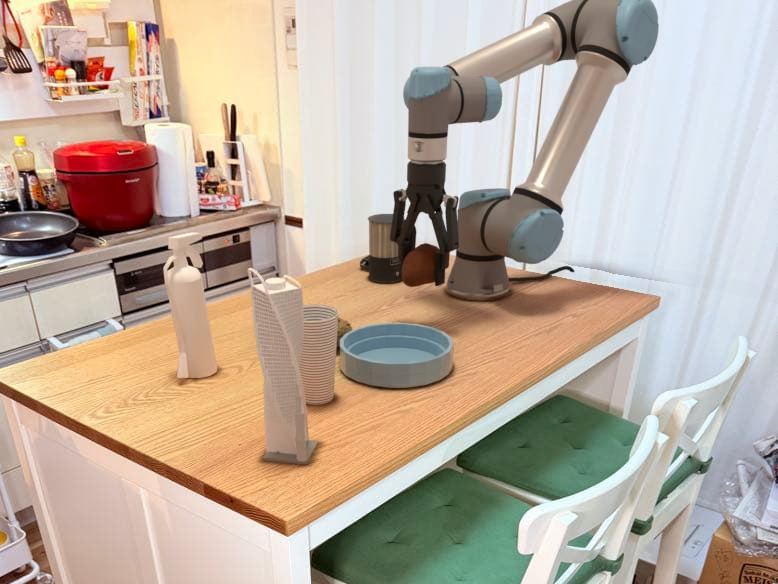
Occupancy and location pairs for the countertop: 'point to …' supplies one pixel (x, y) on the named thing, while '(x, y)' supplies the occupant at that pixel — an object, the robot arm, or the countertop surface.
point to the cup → (319, 353)
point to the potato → (420, 265)
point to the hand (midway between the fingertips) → (422, 280)
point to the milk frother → (384, 250)
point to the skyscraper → (281, 367)
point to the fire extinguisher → (189, 309)
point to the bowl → (396, 355)
